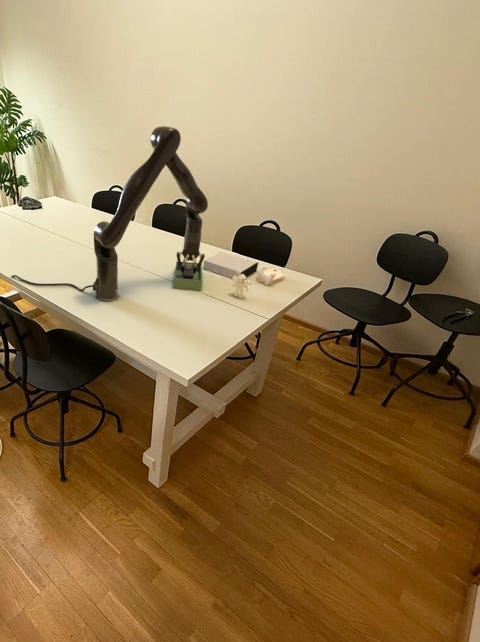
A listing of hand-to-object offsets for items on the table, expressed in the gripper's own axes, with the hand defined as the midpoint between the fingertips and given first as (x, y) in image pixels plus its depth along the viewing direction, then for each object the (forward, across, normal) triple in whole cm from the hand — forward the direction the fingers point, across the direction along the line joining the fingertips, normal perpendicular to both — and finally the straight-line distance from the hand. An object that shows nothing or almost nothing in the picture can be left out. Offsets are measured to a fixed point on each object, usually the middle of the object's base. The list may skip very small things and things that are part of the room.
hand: (188, 273), depth 183 cm
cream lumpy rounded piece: (+4, -42, -8) cm, 43 cm away
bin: (+4, 0, 0) cm, 4 cm away
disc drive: (+4, -22, -17) cm, 28 cm away
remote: (+1, 0, 0) cm, 1 cm away
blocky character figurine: (+4, -24, +13) cm, 28 cm away
